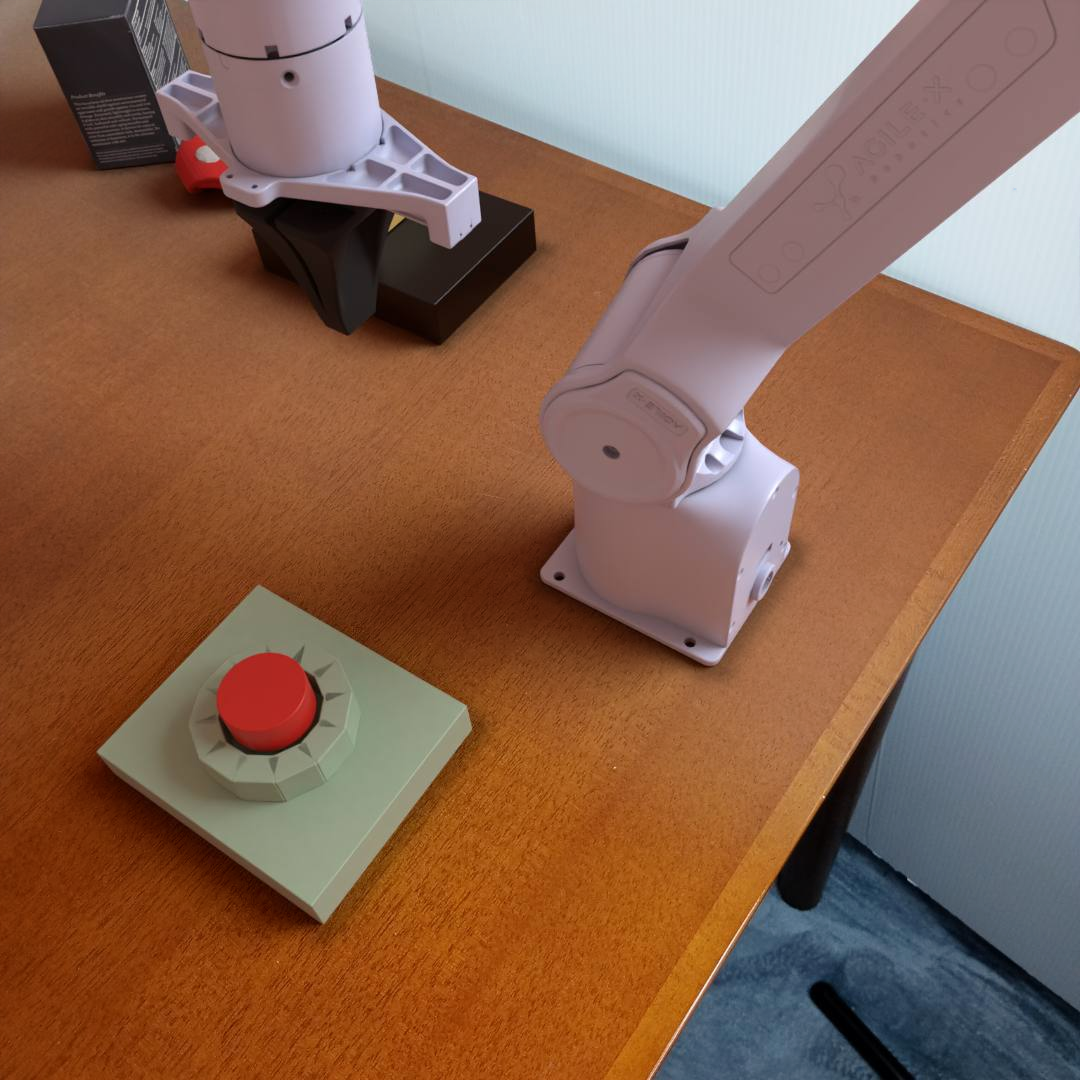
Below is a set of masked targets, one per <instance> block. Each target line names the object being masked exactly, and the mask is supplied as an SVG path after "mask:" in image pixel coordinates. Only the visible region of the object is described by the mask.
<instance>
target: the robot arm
mask: <svg viewBox="0 0 1080 1080" xmlns="http://www.w3.org/2000/svg"><path fill="white" fill-rule="evenodd" d="M187 3H188V6H189V9H190V14H191V16H192V21H193V23H194V27H195V30H196V33H197V35H198V40H199V42H200V45H201V49H202V51H203V56H204V59H205V62H206V66H207V68H208V72H209V75H208V74H204V73H201V72H197V71H194V70H188V71H186V72H185V73H183V74H182V75H180V76H179V77H177V78H176V79H174V80H173V81H171V82H170V83H168V84H167V85H165V86H164V87H162V88H160V89H159V90H157V91H156V92H155V95H156V98H157V101H158V104H159V106H160V109H161V112H162V115H163V118H164V121H165V124H166V126H167V129H168V132H169V135H171V136H174V137H176V138H179V139H181V140H185V141H188V140H191V139H193V138H194V137H195V136H196V135H198V136H199V137H200V138H201V139H202V140H203V142H204V143H205V144H206V145H207V146H208V147H209V148H210V149H211V150H212V151H213V152H214V153H215V154H216V155H217V156H218V157H219V158H220V159H221V160H222V161H223V162H224V163H225V164H226V165H227V166H228V167H229V168H228V169H227V170H225V171H224V172H223V173H222V174H221V176H220V183H221V186H222V189H221V190H222V193H223V195H225V196H226V197H227V198H229V199H232V203H233V207H234V210H235V214H236V215H237V216H238V217H239V218H240V219H241V220H243V222H245V223H246V224H248V225H249V226H250V227H251V229H252V228H253V229H254V230H256V231H257V232H258V233H259V234H260V235H261V236H262V237H263V238H264V239H265V240H266V241H267V242H268V244H269V245H270V246H271V247H272V248H273V249H274V250H275V251H276V253H277V254H278V255H279V256H280V258H281V259H282V260H283V261H284V263H285V264H286V265H287V267H288V268H289V269H290V271H291V272H292V274H293V275H294V277H295V278H296V280H297V281H298V283H297V284H299V286H300V288H301V289H302V291H303V293H304V294H305V295H306V298H307V299H308V301H309V303H310V304H311V306H312V307H313V309H314V310H315V312H316V314H317V315H318V317H319V318H320V320H321V321H322V323H323V324H324V325H325V327H327V328H329V329H330V330H334V331H336V332H338V333H340V334H342V335H343V336H351V335H352V334H353V333H354V332H356V331H357V329H359V328H360V327H361V326H362V325H363V324H365V322H366V321H367V320H369V319H370V317H372V316H373V314H374V313H375V311H376V298H377V286H378V277H379V270H380V263H381V257H382V253H383V248H384V244H385V240H386V237H387V234H388V231H389V228H390V225H391V222H392V220H393V217H394V215H395V214H398V215H400V216H403V217H405V218H408V219H410V220H413V221H415V222H418V223H420V224H423V225H425V226H428V230H429V237H430V241H432V242H433V243H436V244H438V245H441V246H443V247H446V248H448V249H451V248H452V247H454V246H455V245H456V244H457V243H458V242H459V241H460V240H462V239H463V238H464V237H465V236H466V235H467V234H468V233H470V232H471V231H472V229H473V228H474V227H475V226H476V225H477V224H478V223H480V222H481V213H480V203H479V193H478V190H479V183H478V177H477V176H475V175H472V174H470V173H467V172H465V171H463V170H461V169H458V168H457V167H455V166H453V165H452V164H450V163H448V162H447V161H446V160H444V159H443V158H442V157H440V156H439V155H438V154H437V153H435V152H434V151H433V150H432V149H431V148H429V147H428V146H427V145H426V144H425V143H423V142H422V141H421V140H420V139H419V138H417V137H416V136H415V135H414V134H413V133H411V132H410V131H409V130H408V129H406V127H404V126H403V125H402V124H400V123H399V122H398V121H397V120H396V119H395V118H394V117H392V116H391V115H390V114H388V112H386V111H385V110H384V109H382V108H381V106H380V101H379V95H378V90H377V83H376V78H375V72H374V66H373V60H372V55H371V50H370V42H369V37H368V32H367V27H366V21H365V20H366V19H365V13H364V7H363V3H362V0H187ZM1079 113H1080V0H918V1H916V3H915V4H914V5H913V7H911V9H909V11H908V12H907V13H906V14H905V15H904V16H903V17H902V18H901V19H900V20H899V21H898V22H897V23H896V25H894V27H893V28H892V29H891V30H890V31H889V32H888V33H887V34H886V35H885V36H884V37H883V38H882V40H881V41H879V43H878V44H876V45H875V47H874V48H873V49H872V50H871V51H870V52H869V53H868V54H867V56H865V58H863V60H862V61H861V62H860V63H859V64H858V65H857V66H855V68H854V69H853V71H851V72H850V73H849V75H848V76H847V77H846V78H845V79H844V80H843V81H842V82H841V83H840V84H839V85H838V86H837V87H836V88H835V90H834V91H833V92H832V93H830V95H829V96H828V97H827V98H826V99H825V100H824V101H823V103H821V105H820V106H819V107H817V109H816V110H815V111H814V112H813V113H812V114H811V115H810V116H809V118H808V119H806V121H804V123H803V124H802V125H801V126H800V127H799V128H798V129H797V130H796V131H795V132H794V133H793V134H792V135H791V136H790V137H789V139H788V140H787V141H786V142H784V144H783V145H782V146H780V147H781V148H779V149H778V151H776V152H775V153H774V155H773V156H772V157H771V158H770V159H769V160H768V161H767V162H766V163H765V165H763V166H762V168H761V169H759V170H758V172H756V173H755V175H754V176H753V177H752V178H751V179H750V180H749V181H748V182H747V183H746V185H745V186H744V187H742V189H741V190H740V191H739V192H738V193H737V194H736V195H735V196H734V197H733V199H731V201H730V202H728V203H727V205H726V206H725V207H724V206H719V205H716V206H715V205H714V206H713V207H712V208H711V209H710V210H709V211H708V212H707V213H706V214H705V215H704V216H703V217H702V219H701V220H699V221H698V222H697V223H696V224H695V225H694V226H692V227H690V229H688V230H685V231H683V232H681V233H679V234H675V235H670V236H667V237H663V238H659V239H658V240H655V241H653V242H651V243H649V244H648V245H646V246H645V247H644V248H643V249H641V250H639V252H638V253H637V254H636V256H635V257H633V259H632V261H630V264H629V266H628V269H627V271H626V273H625V276H624V279H623V281H622V284H621V286H620V287H619V289H618V290H617V292H616V293H615V295H614V297H612V300H611V301H610V302H609V304H608V306H607V307H606V309H605V311H604V312H603V313H602V314H601V316H600V318H599V319H598V321H597V323H596V325H595V326H594V327H593V329H592V330H591V332H590V334H589V335H588V337H587V338H586V340H585V342H584V343H583V345H582V346H581V348H580V349H579V351H578V352H577V354H576V356H575V357H574V358H573V360H572V362H571V363H570V365H569V367H568V368H567V370H566V371H565V372H564V374H563V375H562V377H561V379H560V380H558V381H557V382H556V383H555V384H553V385H552V386H551V387H550V388H549V389H548V391H547V392H546V394H545V396H544V397H543V399H542V401H541V404H540V407H539V412H538V426H539V432H540V435H541V437H542V440H543V442H544V444H545V446H546V448H547V449H548V451H549V453H550V455H551V456H552V457H553V459H554V461H556V463H557V464H558V465H559V466H560V468H561V469H562V470H563V472H565V473H566V474H567V475H568V476H569V477H570V478H571V479H572V493H573V494H572V495H573V496H572V497H573V511H574V512H573V514H574V516H573V517H574V526H573V528H572V529H571V531H570V532H569V533H568V535H567V536H566V537H565V538H564V540H563V541H562V542H561V543H560V544H559V546H558V547H557V549H556V550H555V551H553V553H552V554H551V556H550V557H549V558H548V559H547V560H546V562H545V564H543V566H542V567H541V569H540V571H539V573H540V574H539V575H540V580H541V582H543V583H544V584H545V585H547V586H550V587H552V588H553V589H555V590H557V591H559V592H561V593H563V594H565V595H567V596H568V597H571V598H573V599H574V600H577V601H578V602H581V603H582V604H584V605H586V606H588V607H590V608H592V609H594V610H597V611H598V612H600V613H602V614H604V615H606V616H608V617H610V618H612V619H614V620H616V621H618V622H620V623H621V624H624V625H625V626H627V627H630V628H631V629H633V630H635V631H637V632H639V633H641V634H643V635H645V636H647V637H649V638H651V639H653V640H655V641H657V642H659V643H661V644H663V645H665V646H667V647H669V648H671V649H672V650H675V651H676V652H678V653H680V654H682V655H684V656H686V657H688V658H690V659H692V660H694V661H696V662H698V663H700V664H702V665H704V666H706V667H707V666H708V667H714V666H715V665H716V666H717V664H719V662H720V661H721V660H722V658H723V657H724V655H725V654H726V653H727V650H728V649H729V647H730V646H731V645H732V643H733V641H734V640H735V638H736V636H737V635H738V634H739V632H740V630H741V629H742V627H743V625H744V624H745V622H746V621H747V619H748V618H749V617H750V614H752V611H753V610H754V608H755V607H756V605H757V604H758V603H759V602H760V601H761V600H762V599H763V598H764V596H765V595H766V593H767V592H768V589H770V586H771V584H772V582H773V580H774V577H775V576H776V574H777V573H778V571H779V570H780V568H781V566H782V564H784V562H785V560H786V558H787V557H788V555H789V554H790V551H791V543H790V542H789V540H788V539H789V535H790V530H791V525H792V520H793V515H794V512H795V511H794V510H795V505H796V502H797V501H796V500H797V496H798V491H799V486H800V480H801V479H800V478H801V476H800V475H801V474H800V470H799V468H797V466H796V465H794V464H792V463H791V462H789V461H787V460H785V459H784V458H782V457H780V456H778V455H777V454H776V453H774V452H773V451H771V450H770V449H769V448H768V447H766V446H765V445H764V444H762V443H761V442H760V441H759V440H758V438H757V437H755V436H754V434H752V432H751V431H750V430H749V429H748V428H747V426H746V421H745V412H744V407H745V405H746V404H747V403H748V402H749V400H750V399H751V398H752V396H753V394H755V392H756V391H757V389H758V388H759V386H760V385H761V384H762V383H763V381H764V379H765V378H766V377H767V376H768V374H769V373H770V372H771V370H772V368H774V366H775V365H776V363H777V362H778V361H779V359H780V358H781V357H782V355H783V354H784V353H785V352H786V350H787V349H788V348H789V347H790V346H792V345H793V344H794V343H795V342H797V341H798V340H799V339H800V338H801V337H802V336H804V335H805V334H806V333H807V332H809V331H810V330H811V329H813V328H814V327H816V325H817V324H819V323H820V322H821V321H823V320H824V319H825V318H827V316H829V315H830V314H831V313H832V312H834V311H835V310H836V309H837V308H838V307H841V305H842V304H844V303H845V302H846V301H847V300H849V299H850V298H851V297H852V296H854V295H855V294H856V293H858V292H859V291H860V290H861V289H862V288H864V286H866V285H867V284H868V283H869V282H871V281H872V280H874V279H875V278H876V277H877V276H878V275H880V274H881V273H883V271H884V270H886V269H887V268H888V267H889V266H891V265H892V264H893V263H894V262H895V261H897V260H898V259H899V258H901V257H902V256H903V255H905V254H906V253H908V251H909V250H910V249H912V248H913V247H914V246H915V245H917V244H918V243H919V242H921V241H922V240H923V239H924V238H925V237H927V236H928V235H929V234H931V233H932V232H933V231H934V230H936V229H937V228H938V227H939V226H940V225H942V224H943V223H944V222H945V221H947V220H948V219H949V218H950V217H952V216H953V215H954V214H955V213H957V212H958V211H959V210H960V209H961V208H963V207H964V206H965V205H966V204H968V203H969V202H970V201H971V200H972V199H974V198H975V197H976V196H977V195H979V194H980V193H981V192H982V191H984V190H985V189H986V188H987V187H989V186H990V185H992V184H993V183H994V182H995V181H997V179H998V178H1000V177H1001V176H1003V175H1004V174H1005V173H1006V172H1007V171H1008V170H1010V169H1012V167H1014V166H1015V165H1016V164H1018V162H1020V161H1021V160H1022V159H1024V158H1025V157H1026V156H1027V155H1028V154H1030V153H1031V152H1032V151H1033V150H1035V149H1036V148H1037V147H1038V146H1040V145H1041V144H1042V143H1043V142H1045V141H1046V140H1047V139H1048V138H1049V137H1051V136H1052V135H1053V134H1054V133H1056V131H1058V130H1060V129H1061V128H1062V127H1063V126H1064V125H1066V124H1067V123H1068V122H1069V121H1071V120H1072V119H1073V118H1074V117H1076V116H1077V115H1078V114H1079ZM559 577H561V578H563V579H562V580H557V578H559ZM687 643H692V644H694V645H693V646H691V647H690V646H687V645H686V644H687Z"/></svg>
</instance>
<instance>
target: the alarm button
mask: <svg viewBox="0 0 1080 1080" xmlns="http://www.w3.org/2000/svg"><path fill="white" fill-rule="evenodd" d="M216 702H217V708H218V712H219V714H220V716H221V718H222V719H223V721H224V722H225V724H226V726H227V727H228V729H229V730H230V732H231V734H232V735H233V737H234V738H235V739H236V740H237V742H239V743H240V744H241V745H243V746H244V747H246V748H249V749H251V750H255V751H274V750H278V749H282V748H284V747H287V746H289V745H290V744H292V743H294V742H295V741H297V740H298V739H299V738H300V737H301V736H302V735H303V734H304V733H305V732H306V731H307V730H308V728H309V727H310V725H311V723H312V721H313V719H314V716H315V713H316V697H315V694H314V691H313V689H312V687H311V685H310V683H309V680H308V678H307V676H306V674H305V672H304V670H303V668H302V667H301V665H300V664H299V663H298V662H297V661H295V660H294V659H293V658H291V657H289V656H286V655H284V654H280V653H273V652H268V653H260V654H256V655H252V656H250V657H247V658H245V659H243V660H242V661H240V662H239V663H237V664H236V665H235V666H233V667H232V668H231V669H230V670H229V671H228V672H227V674H226V675H225V676H224V678H223V679H222V681H221V683H220V685H219V688H218V692H217V700H216Z"/></svg>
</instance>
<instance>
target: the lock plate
mask: <svg viewBox="0 0 1080 1080" xmlns="http://www.w3.org/2000/svg"><path fill="white" fill-rule="evenodd" d="M478 193H479V203H480V213H481V222H480V223H478V224H477V225H476V226H475V227H474V228H473V229H472V231H471V232H470V233H468V234H467V235H466V236H465V237H464V238H463V239H462V240H460V241H459V242H458V243H457V244H456V245H455V246H454V247H452V248H451V249H448V248H446V247H443V246H441V245H438V244H436V243H433V242H432V241H430V237H429V230H428V226H425V225H423V224H420V223H418V222H415V221H413V220H410V219H408V218H404V219H403V220H402V221H401V222H399V223H398V224H397V225H396V226H395V227H394V228H392V229H391V230H390V231H389V232H388V234H387V237H386V240H385V244H384V248H383V253H382V257H381V263H380V270H379V277H378V286H377V298H376V311H375V313H374V314H373V315H372V316H373V317H376V318H378V319H379V320H383V321H385V322H387V323H390V324H391V325H394V326H397V327H399V328H401V329H404V330H406V331H408V332H410V333H412V334H415V335H417V336H420V337H422V338H425V339H427V340H429V341H432V342H434V343H436V344H438V345H443V344H444V343H445V342H446V341H447V340H448V339H449V338H450V337H451V336H452V335H453V334H454V333H455V332H456V331H457V330H458V329H459V328H460V327H461V326H462V325H463V324H464V323H465V322H466V321H467V320H468V319H469V318H470V317H471V316H472V315H473V314H474V313H475V312H476V311H477V310H478V309H479V308H480V307H481V306H482V305H483V304H484V303H485V302H486V301H487V300H488V299H489V298H490V297H491V296H492V295H493V294H494V293H495V292H496V291H497V290H498V289H499V288H500V287H501V286H502V285H503V284H504V283H505V282H506V281H507V280H508V279H510V277H512V275H514V273H515V272H516V271H517V270H519V269H520V267H521V266H522V265H523V264H524V263H525V262H526V261H527V260H528V259H530V257H531V256H533V254H534V253H535V252H536V251H537V250H538V249H537V248H538V247H537V235H536V234H537V233H536V222H535V221H536V219H535V210H534V209H533V208H530V207H527V206H525V205H523V204H519V203H516V202H513V201H511V200H508V199H505V198H502V197H499V196H497V195H493V194H491V193H488V192H486V191H483V190H480V189H478ZM251 232H252V235H253V239H254V242H255V246H256V249H257V252H258V254H259V257H260V260H261V264H262V266H263V269H264V270H265V271H266V270H267V272H271V273H273V274H276V275H277V276H280V277H282V278H285V279H287V280H289V281H291V282H294V283H296V284H299V283H298V281H297V280H296V278H295V277H294V275H293V274H292V272H291V271H290V269H289V268H288V267H287V265H286V264H285V263H284V261H283V260H282V259H281V258H280V256H279V255H278V254H277V253H276V251H275V250H274V249H273V248H272V247H271V246H270V245H269V244H268V242H267V241H266V240H265V239H264V238H263V237H262V236H261V235H260V234H259V233H258V232H257V231H256V230H254V229H253V228H252V227H251Z"/></svg>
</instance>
